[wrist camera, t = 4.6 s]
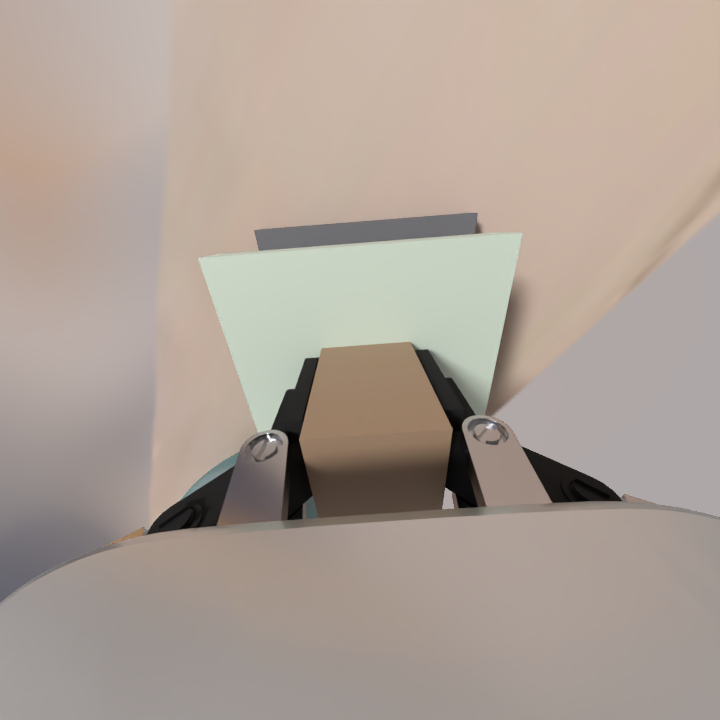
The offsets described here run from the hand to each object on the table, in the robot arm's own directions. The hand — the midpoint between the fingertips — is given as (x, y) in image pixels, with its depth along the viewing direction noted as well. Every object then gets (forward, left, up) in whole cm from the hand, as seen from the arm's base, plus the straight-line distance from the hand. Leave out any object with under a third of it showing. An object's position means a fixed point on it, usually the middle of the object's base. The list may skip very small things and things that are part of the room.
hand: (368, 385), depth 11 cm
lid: (0, 0, -1) cm, 1 cm away
